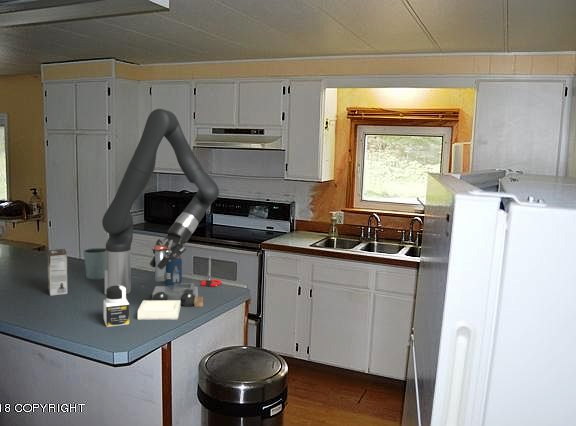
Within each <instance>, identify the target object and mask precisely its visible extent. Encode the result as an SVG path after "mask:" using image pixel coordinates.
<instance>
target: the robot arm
mask: <svg viewBox="0 0 576 426" xmlns="http://www.w3.org/2000/svg"><path fill="white" fill-rule="evenodd" d="M147 116H148V117H147V119H146V122H145V125H144V128H143V131H142V134H141V137H140V140H139V142H138V143H137V147H136V148H135V151H134V153H133V154H132V157H131V159H130V161H129V163H128V165H127V168H126V170H125V172H124V175H123V177H122V179H121V182H120V184H119V185H118V189H117V191H116V194H115V196H114V198H113V199H112V201H111V203H110V204H109V207H108V208H107V210H106V211H105V212H104V214H103V217H102V221H101V222H102V228H103V229H104V231H105V232H106V233H108V234H109V237H108V239H107V241H106V243H105V248H106V270H105V271H104V273H105V278H104V295H106V289H107V288H109V287H111V286H117V285H118V286H123V287H125V288H126V295H128V294H130V293H131V290H132V289H131V288H132V285H131V281H132V277H131V276H132V275H131V274H132V273H131V272H132V270H131V269H132V266H131V265H132V264H131V263H132V262H131V261H132V259H131V258H132V257H131V254H132V250H131V249H132V247H131V246H132V243H133V238H134V237H133V235H134V234H133V233H134V219H133V218H134V217H133V215H132V213H131V209H132V207H133V205H134V203H135V202H136V201H137V199H138V198H139V197H140V196H141V194H142V193H143V191H144V190H145V189H146V187H147V186H148V184H149V183H150V180H151V178H152V176H153V174H154V172H155V168H156V163H157V162H156V160H157V153H158V149H159V147H160V145H161V142H162V140H163V138H165V139H166V140H167V141H168V143H169V144H170V146H171V147H172V149H173V151H174V155H175V158H176V160H177V164H178V165H179V168H180V169H181V171H182V173H183V174H184V176H185V177H186V179H187V181H188V182H189V183H190V184H194V185H195V186H196V188H197V189H198V190H197V191H196V192H195V195H194V196H193V197H192V199H191V201H190V202H189V203H188V204H187V205H186V206H185V208H184V209H183V210H182V212H181V213H180V215H179V216H177V218H176V219H175V221H174V223H173V224H172V225H171V226H170V227H169V229H168V230H167V236H166V237H165V238H164V239H163V240H161V239H157V240H156V243H155V245H166V246H167V249H166V254H165V256H164V257H165V258H164V257H163V258H162V260H161V261H160V262H159V264H158V265H157V267H158V268H159V269H161V270H162V269H163V268H164V267H165V266H166V264H167V263H168V261H171V260H173V261H174V260H175V259H177V258H178V257H179V256H180V257H181V255H182V254H184V253H185V252H186V251H187V249H186V247H185V246H184V245H186V244H187V243H188V241H189V239H190V238H191V236H193V235H192V234H193V233H194V232H195V231H196V229H197V227H198V226H199V223H201V221H202V220H203V218H204V216H205V215H206V212H207V210H208V209H209V207H211V205H212V204H213V202H215V201H216V200H217V199H218V197H219V195H220V190H219V187H218V185H217V183H216V182H215V181H214V179H212V177H210V175H209V174H208V173H207V172H206V171H205V169H204V167H203V166H202V164H201V163H200V161H199V160H198V158H197V157H196V154H195V153H194V152H193V150H192V148H191V146H190V145H189V142H188V141H187V139H186V137H185V134H184V132H183V130H182V127H181V124H180V122H179V119H178V118H177V116H176V114H175V113H174V112H172V111H169V110H168V109H163V108H156V109H154V110H151V112H150V113H149V115H147ZM152 253H153V254H154V256H153V258H152V259H151V261H150V262H149V265H150V266H151V267H152V268H155V249H154V248H153V250H152ZM174 255H175V256H174Z"/></svg>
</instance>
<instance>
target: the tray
mask: <svg viewBox="0 0 576 426" xmlns="http://www.w3.org/2000/svg"><path fill="white" fill-rule="evenodd" d="M180 311H181V300H152V299H150V300H149V299H147V300H145V299H144V300H142V302H141V304H140V305H139V307H138V309H137V320H145V321H146V320H148V321H149V320H178V319H179V316H180Z"/></svg>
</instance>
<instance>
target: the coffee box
mask: <svg viewBox="0 0 576 426" xmlns="http://www.w3.org/2000/svg"><path fill="white" fill-rule="evenodd" d="M46 254H47V284H48V285H47V288H48V292H49V296H57V295H58V296H59V295H60V296H61V295H67V294H68V253H67V251H66V249H65V248H59V249H58V248H57V249H47V253H46Z"/></svg>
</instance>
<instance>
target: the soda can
mask: <svg viewBox="0 0 576 426" xmlns="http://www.w3.org/2000/svg"><path fill="white" fill-rule="evenodd" d="M175 255H176V254H175ZM175 255H174V256H175ZM182 270H183V260H182V257H181V255H180V256H179V257H178V258H177V259H175V260H174V261H173V260H171V261H168V263H167V264H166V280H165V281H164V282H165V284H166V286H174V284H175V283H182V281H183V275H182V274H183V271H182Z"/></svg>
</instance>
